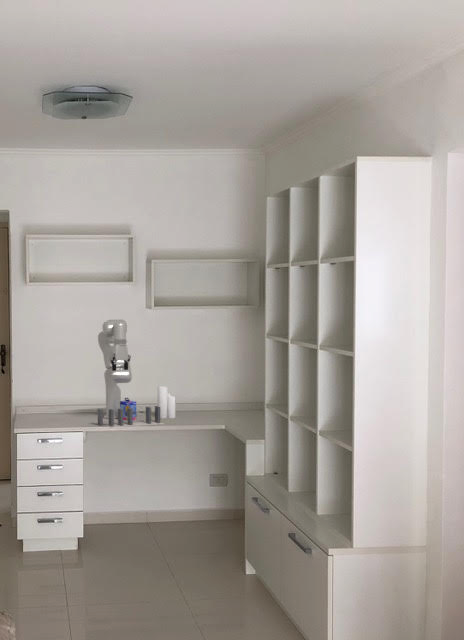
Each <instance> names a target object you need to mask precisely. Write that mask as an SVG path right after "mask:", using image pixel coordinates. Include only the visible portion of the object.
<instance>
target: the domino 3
mask: <svg viewBox="0 0 464 640" xmlns="http://www.w3.org/2000/svg"><path fill="white" fill-rule="evenodd" d="M117 424H118V425H120V426H123V424H124V420H123V409H121V408H118V418H117Z"/></svg>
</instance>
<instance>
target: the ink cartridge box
mask: <svg viewBox="0 0 464 640" xmlns="http://www.w3.org/2000/svg"><path fill="white" fill-rule="evenodd" d="M120 408H121V409H123V421H127V408H132V409H133V422H134V421H137V419H138V418H137V401H136V400H135V401H134V400H130V398H129V397H124V400H121V401H120Z"/></svg>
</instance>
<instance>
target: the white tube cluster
mask: <svg viewBox="0 0 464 640" xmlns="http://www.w3.org/2000/svg"><path fill="white" fill-rule="evenodd" d="M168 390H169V387H168V386H164V385H162V386H160V385H159V386H157V406H159V407H160V419H167V418H168V419H176V396H175V395H172V393H171V392H169V391H168Z"/></svg>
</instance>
